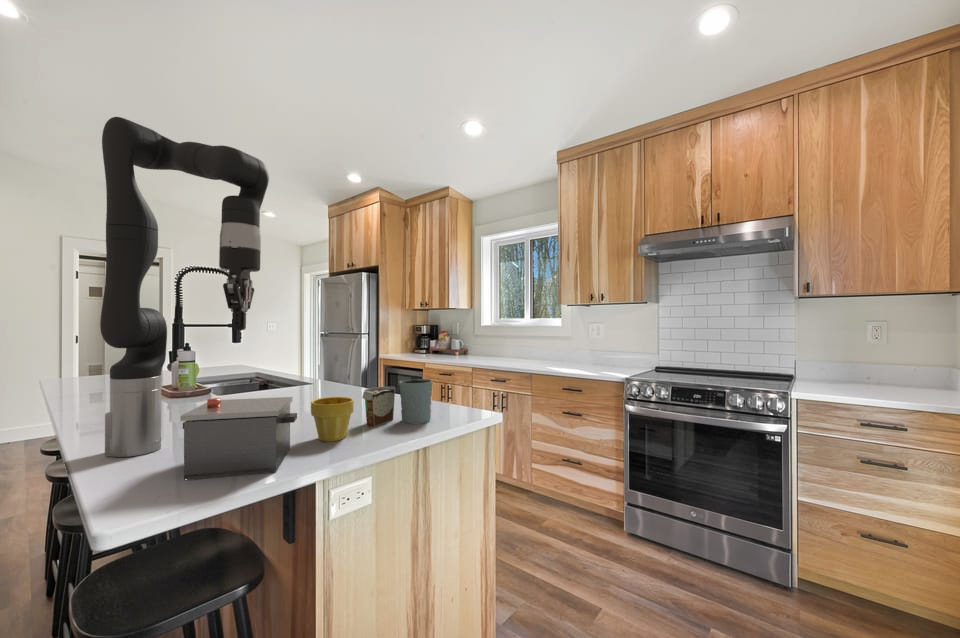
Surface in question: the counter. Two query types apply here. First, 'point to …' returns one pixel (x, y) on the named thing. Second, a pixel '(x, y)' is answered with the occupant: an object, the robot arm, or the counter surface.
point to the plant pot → (332, 417)
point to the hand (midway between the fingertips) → (238, 329)
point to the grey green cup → (416, 400)
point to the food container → (379, 405)
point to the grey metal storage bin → (236, 445)
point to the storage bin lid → (238, 408)
